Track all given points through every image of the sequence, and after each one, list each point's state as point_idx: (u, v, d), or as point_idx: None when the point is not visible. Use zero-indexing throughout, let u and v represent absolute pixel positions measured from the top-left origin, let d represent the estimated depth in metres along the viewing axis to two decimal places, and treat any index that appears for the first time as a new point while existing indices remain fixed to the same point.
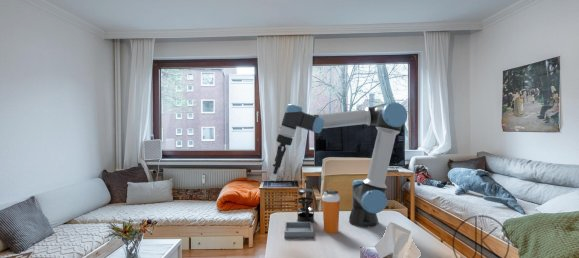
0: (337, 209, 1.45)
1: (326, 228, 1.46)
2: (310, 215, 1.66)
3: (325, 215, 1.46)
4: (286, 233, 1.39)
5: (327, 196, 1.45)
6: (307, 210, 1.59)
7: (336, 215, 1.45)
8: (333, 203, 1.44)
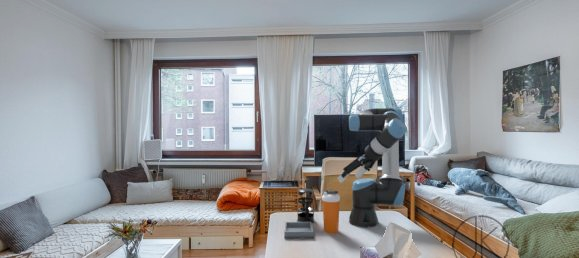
0: (337, 209, 1.45)
1: (326, 228, 1.46)
2: (310, 215, 1.66)
3: (325, 215, 1.46)
4: (286, 233, 1.39)
5: (327, 196, 1.45)
6: (307, 210, 1.59)
7: (336, 215, 1.45)
8: (333, 203, 1.44)
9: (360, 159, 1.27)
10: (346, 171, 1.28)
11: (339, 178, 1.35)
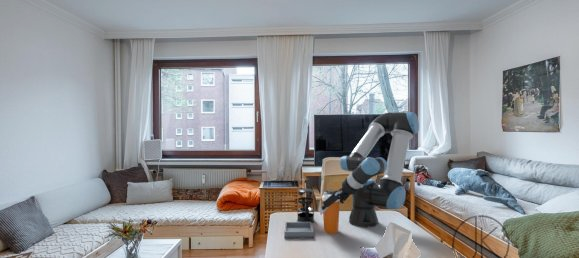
0: (337, 209, 1.45)
1: (326, 228, 1.46)
2: (310, 215, 1.66)
3: (325, 215, 1.46)
4: (286, 233, 1.39)
5: (327, 196, 1.45)
6: (307, 210, 1.59)
7: (336, 215, 1.45)
8: (333, 203, 1.44)
9: (336, 194, 1.37)
10: (325, 205, 1.40)
11: (319, 210, 1.46)
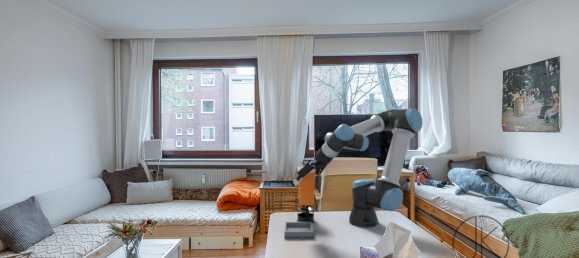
0: (312, 180, 1.42)
1: (301, 200, 1.42)
2: (310, 215, 1.66)
3: (300, 186, 1.42)
4: (286, 233, 1.39)
5: (302, 167, 1.41)
6: (307, 210, 1.59)
7: (311, 186, 1.41)
8: (308, 174, 1.40)
9: (310, 163, 1.34)
10: (299, 175, 1.37)
11: (294, 181, 1.43)
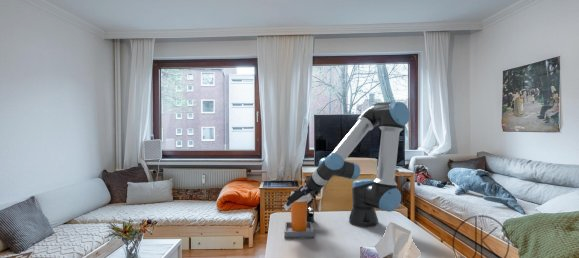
0: (304, 209, 1.43)
1: (293, 228, 1.43)
2: (310, 215, 1.66)
3: (292, 215, 1.43)
4: (286, 233, 1.39)
5: None
6: (307, 210, 1.59)
7: (304, 215, 1.43)
8: (300, 203, 1.41)
9: (302, 190, 1.34)
10: (289, 201, 1.36)
11: (285, 206, 1.42)
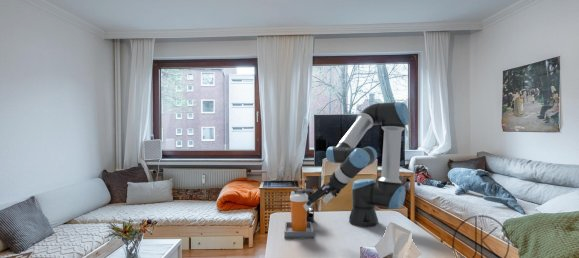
0: (304, 209, 1.43)
1: (293, 228, 1.43)
2: (310, 215, 1.66)
3: (292, 215, 1.43)
4: (286, 233, 1.39)
5: (294, 196, 1.43)
6: None
7: (304, 215, 1.43)
8: (300, 203, 1.41)
9: (324, 188, 1.25)
10: (310, 200, 1.26)
11: (305, 206, 1.33)
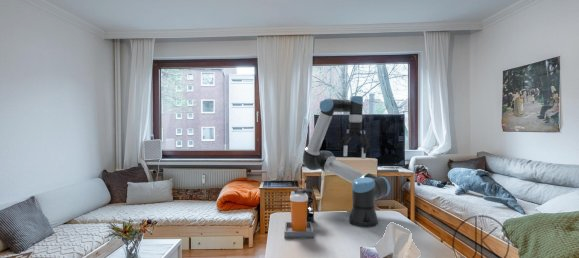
0: (304, 209, 1.43)
1: (293, 228, 1.43)
2: (310, 215, 1.66)
3: (292, 215, 1.43)
4: (286, 233, 1.39)
5: (294, 196, 1.43)
6: (307, 210, 1.59)
7: (304, 215, 1.43)
8: (300, 203, 1.41)
9: (365, 132, 1.73)
10: (369, 145, 1.71)
11: (363, 157, 1.72)
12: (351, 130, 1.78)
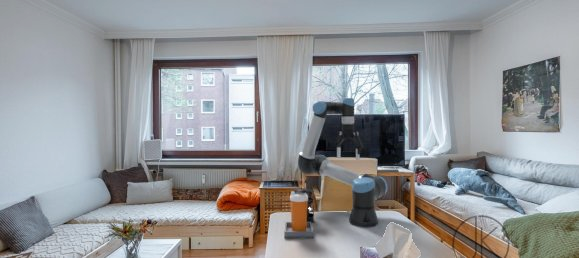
0: (304, 209, 1.43)
1: (293, 228, 1.43)
2: (310, 215, 1.66)
3: (292, 215, 1.43)
4: (286, 233, 1.39)
5: (294, 196, 1.43)
6: (307, 210, 1.59)
7: (304, 215, 1.43)
8: (300, 203, 1.41)
9: (358, 133, 1.75)
10: (363, 146, 1.74)
11: (357, 158, 1.75)
12: (344, 132, 1.81)
